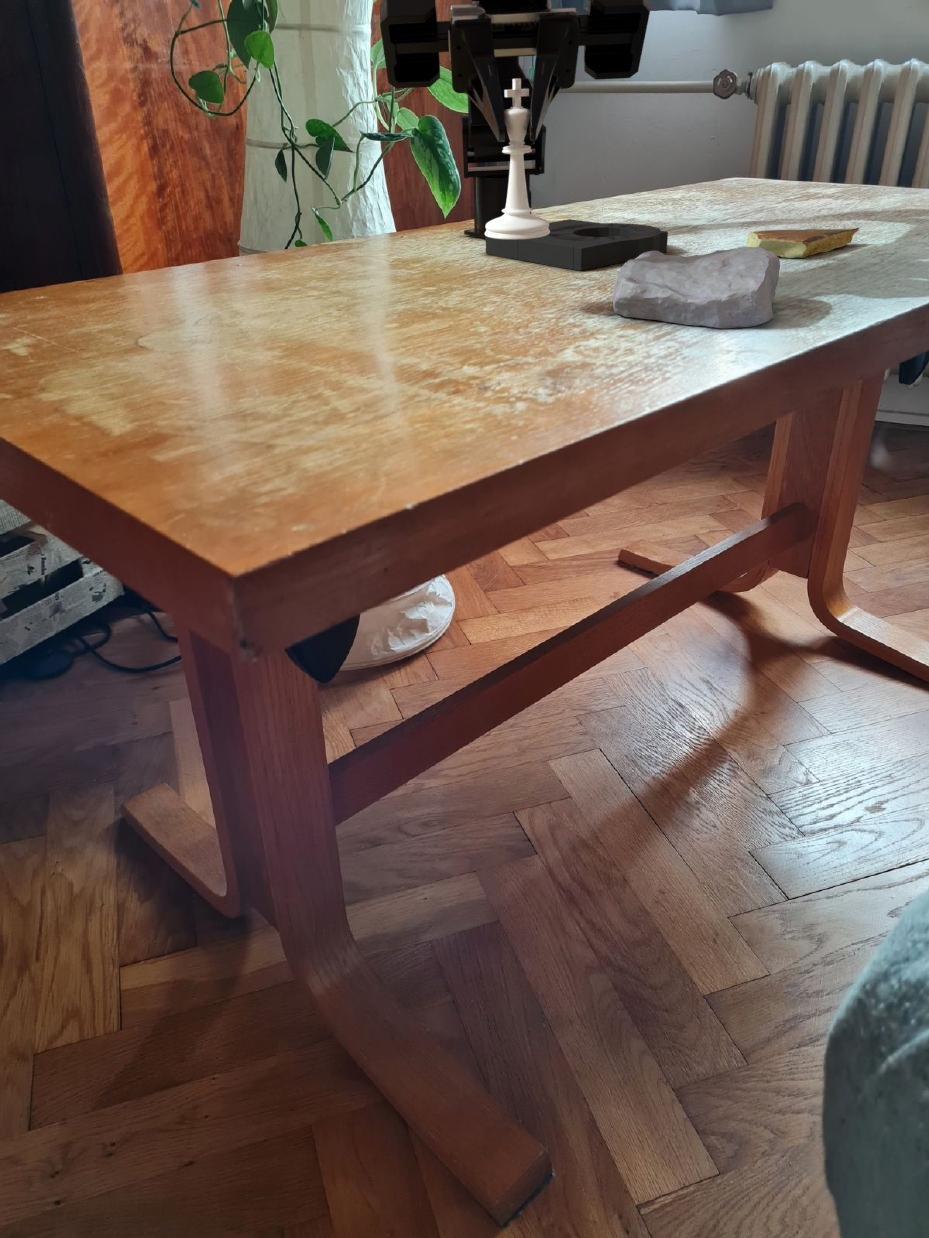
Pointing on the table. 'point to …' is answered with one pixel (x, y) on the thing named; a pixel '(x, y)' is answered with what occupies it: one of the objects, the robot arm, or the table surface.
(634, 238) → the socket pad
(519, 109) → the chess piece
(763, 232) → the yellow brown flat wedge
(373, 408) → the table surface
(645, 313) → the stone block
